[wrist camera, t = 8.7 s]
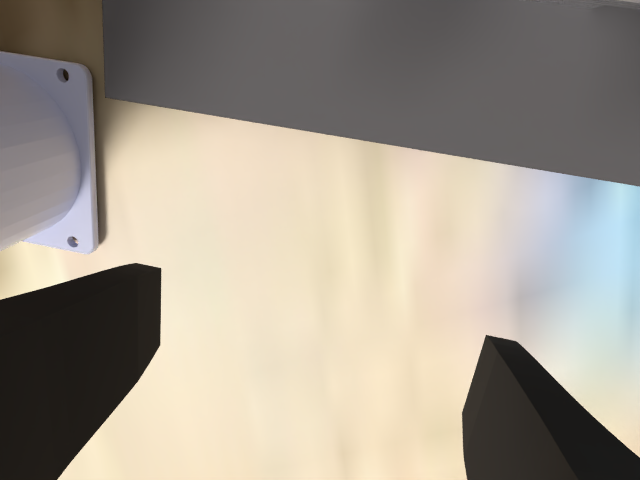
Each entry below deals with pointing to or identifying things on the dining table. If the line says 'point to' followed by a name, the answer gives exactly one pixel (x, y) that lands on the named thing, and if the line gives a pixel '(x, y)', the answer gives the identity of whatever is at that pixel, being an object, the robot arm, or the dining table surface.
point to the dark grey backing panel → (398, 73)
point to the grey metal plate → (593, 3)
